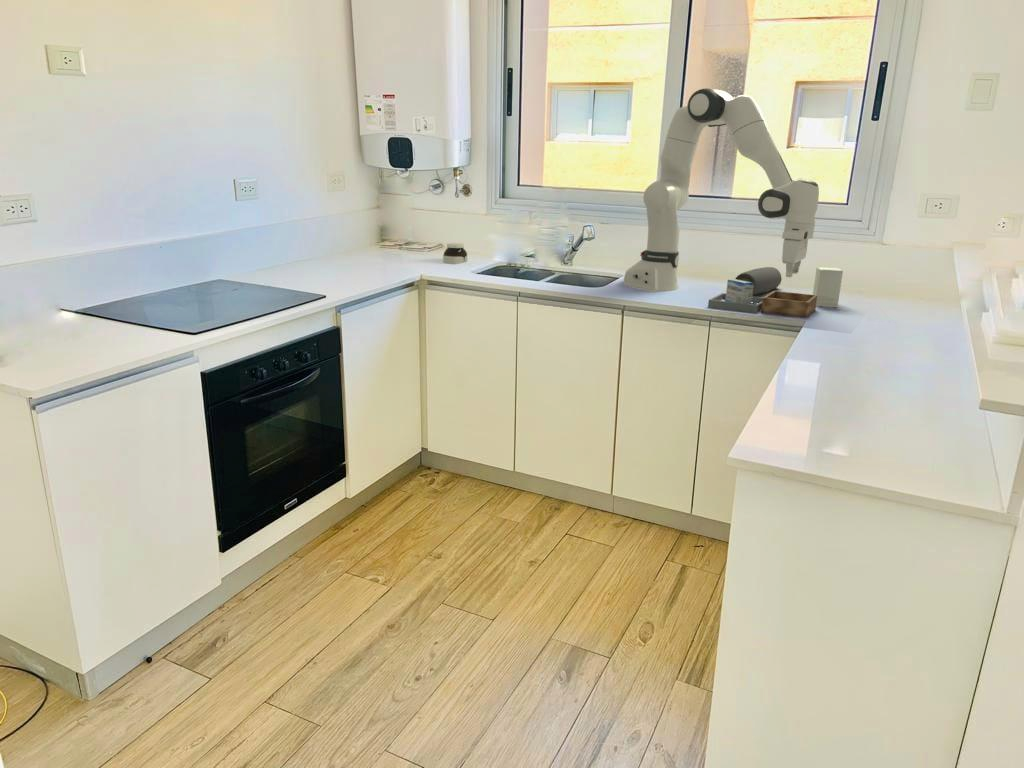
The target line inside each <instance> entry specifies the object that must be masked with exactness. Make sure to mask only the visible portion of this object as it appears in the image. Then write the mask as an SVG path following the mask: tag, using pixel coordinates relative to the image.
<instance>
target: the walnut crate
mask: <svg viewBox="0 0 1024 768" xmlns="http://www.w3.org/2000/svg"><path fill="white" fill-rule="evenodd" d="M762 298H763V301H762V310H761V311H760V313H761V314H770V315H776V316H783V317H792V318H802V319H807V318H809V317H810V316H811V315H812V314H813V313H814V312H815V311H816V310H817V309H816V308H817V306H816V302H817V295H813V294H810V293H809V294H808V293H799V292H791V291H790V292H789V291H779V290H773V291H771V292H769V293H767V294H766V295H764V296H763V297H762Z"/></svg>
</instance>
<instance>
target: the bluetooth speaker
mask: <svg viewBox="0 0 1024 768" xmlns="http://www.w3.org/2000/svg"><path fill="white" fill-rule="evenodd" d="M734 279H737V280H742V281H747V282H752V283H754V286H753V294H752V296H753V297H755V296H759V295H762V294H765V293H768V292H770V291H771V292H772V290H773V291H774V290H775V289H776V288H778V287H779V286H780V285H781V283H782V280H783V279H782V274H781V272H780V271H779V269H778V268H776V267H772V266H766V267H758V268H754V269H751V270H750V269H749V270H747V271H744V272H741V273H740V274H738V275H736V277H735V278H734Z"/></svg>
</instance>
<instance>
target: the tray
mask: <svg viewBox="0 0 1024 768" xmlns="http://www.w3.org/2000/svg"><path fill="white" fill-rule="evenodd" d="M723 298H724V299H723ZM725 299H726V292H724V293H723V292H722V293H720V294H718V295H715V296H713V297H712V298H709V299H708V304H707V308H710V307H712V308H711V309H718V308H721V309H720V310H726V309H728V311H736V312H743V313H751V314H752V313H753V314H758V313H760V312H761V311H760V310H762V301H763V297H760V296H752V302H753V303H758V304H753V303H751V304H744V303H735V302H727V301H725Z"/></svg>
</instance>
